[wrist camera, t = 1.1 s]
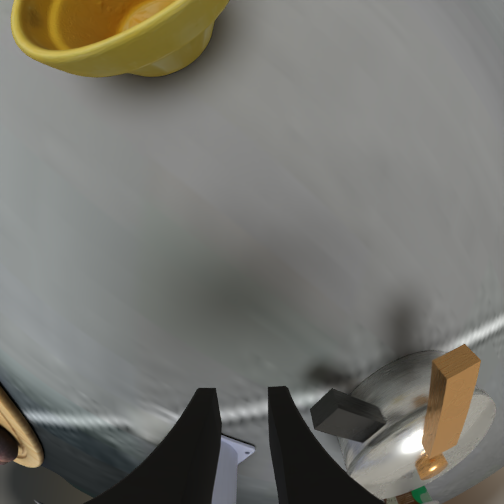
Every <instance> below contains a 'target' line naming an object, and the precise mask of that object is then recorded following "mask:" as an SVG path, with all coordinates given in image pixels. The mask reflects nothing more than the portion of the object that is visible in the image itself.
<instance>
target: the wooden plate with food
mask: <svg viewBox="0 0 504 504" xmlns="http://www.w3.org/2000/svg"><path fill="white" fill-rule="evenodd" d="M43 460H44V453H43V449H42V446H41V444H40V442H39V440H38V438H37V436H36V434H35V433H34V431H33V430H32V428H31V426H30V425H29V423H28V422H27V421H26V419H25V418H24V416H23V415H22V414H21V412H20V411H19V410H18V408H17V407H16V406H15V404H14V403H13V402H12V400H11V399H10V398H9V396H8V395H7V394H6V392H5V391H4V390H3V389H2V387H1V386H0V465H4V464H6V463H8V462H9V461H15V462H17V463H19V464H21V465H24V466H27V467H38V466H40V465H41V464H42V463H43Z"/></svg>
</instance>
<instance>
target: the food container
mask: <svg viewBox="0 0 504 504" xmlns="http://www.w3.org/2000/svg"><path fill="white" fill-rule="evenodd" d="M383 502H385V503H386V504H439V502H438V501H432V499H431V497H430V495H429V493H428V492H427V490H426V488H425V486H422V487H420V488H417V489H415V490H413V491H410V492H407V493H405V494H402V495H398V496H395V497H391V498H386V499H383Z"/></svg>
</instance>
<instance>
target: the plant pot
mask: <svg viewBox="0 0 504 504" xmlns="http://www.w3.org/2000/svg"><path fill="white" fill-rule="evenodd" d="M228 2H229V0H14V3H13V7H12V13H11V30H12V34H13V38H14V40H15V42H16V44H17V45H18V47H19V48H20V49H21V50H22V51H23V52H24V53H25V54H26V55H27V56H29V57H31V58H32V59H34V60H36V61H39V62H41V63H43V64H46V65H48V66H51V67H53V68H56V69H59V70H62V71H65V72H68V73H71V74H75V75H79V76H84V77H108V76H115V75H120V74H124V73H131V74H136V75H140V76H145V77H157V76H164V75H168V74H171V73H174V72H176V71H178V70H181V69H183V68H184V67H186V66H188V65H189V64H190V63H192V62H193V61H194V60H195V59H197V58H198V57H199V56H200V54H201V53H202V52H203V51H204V49H205V48H206V46H207V45H208V43H209V41H210V38H211V35H212V31H213V26H214V22H215V19H216V18H217V17H218V16H219V15H220V13H221V12H222V11H223V10H224V8H225V7H226V5H227V4H228Z"/></svg>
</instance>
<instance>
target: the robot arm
mask: <svg viewBox="0 0 504 504" xmlns="http://www.w3.org/2000/svg"><path fill="white" fill-rule="evenodd" d="M268 423H269V442H270V450H271V456H272V462H273V468H274V474H275V480H276V485H277V491H278V498H279V504H386V503H385V502H383V501H382V500H380V499H379V498H377V497H376V496H374V495H373V494H372V493H370V492H369V491H367V490H366V489H365V488H364V487H363V486H361V485H360V484H359V483H358V482H356V481H355V480H354V479H353V478H352V477H350V476H349V475H348V474H347V473H346V472H345V471H344V470H343V469H342V468H341V467H340V466H339V465H338V464H337V463H336V462H335V461H334V460H333V459H332V457H331V456H330V455H329V454H328V453H327V452H326V450H325V449H324V448H323V447H322V445H321V444H320V443H319V442H318V440H317V439H316V438H315V436H314V435H313V433H312V432H311V431H310V429H309V427H308V426H307V424H306V423H305V421H304V420H303V418H302V416H301V415H300V413H299V411H298V409H297V407H296V406H295V404H294V401H293V399H292V397H291V395H290V392H289V389H288V388H287V387H286V386H278V387H268ZM221 428H222V422H221V417H220V411H219V405H218V399H217V393H216V388H198V389H197V390H196V392H195V394H194V396H193V397H192V399H191V401H190V403H189V404H188V406H187V408H186V409H185V411H184V412H183V414H182V415H181V417H180V418H179V420H178V421H177V422H176V424H175V425H174V427H173V428H172V429H171V431H170V432H169V433H168V435H167V436H166V437H165V438H164V439H163V441H162V442H161V443H160V444H159V446H158V447H157V448H156V449H155V450H154V451H153V452H152V453H151V454H150V455H149V456H148V457H147V458H146V459H145V460H144V461H143V462H142V463H141V464H140V465H139V466H138V467H137V468H136V469H135V470H133V471H132V472H131V473H130V474H129V475H128V476H126V477H125V478H124V479H122V480H121V481H120V482H118V483H117V484H115V485H114V486H113V487H111V488H110V489H108V490H106V491H105V492H103V493H102V494H100V495H99V496H97V497H95V498H93V499H91V500H90V501H87V502H86V503H84V504H236V493H237V465H238V464H239V463H240V462H242V461H243V460H244V459H246V458H247V457H248V456H250V455H251V454H252V453H254V452H255V447H254V446H251V445H248V444H245V443H242V442H240V441H237V440H234V439H231V438H228V437H226V436H223V435H221Z"/></svg>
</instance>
